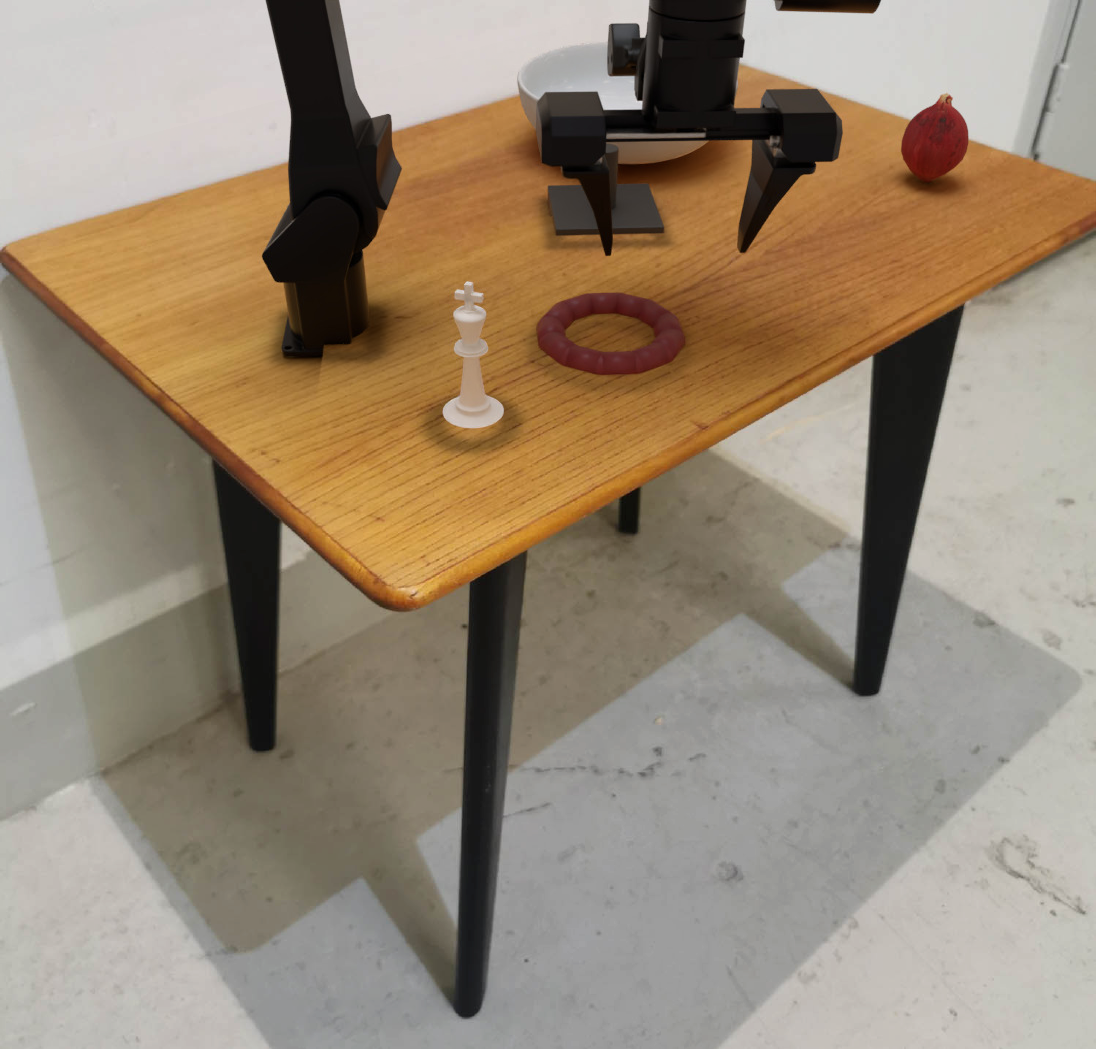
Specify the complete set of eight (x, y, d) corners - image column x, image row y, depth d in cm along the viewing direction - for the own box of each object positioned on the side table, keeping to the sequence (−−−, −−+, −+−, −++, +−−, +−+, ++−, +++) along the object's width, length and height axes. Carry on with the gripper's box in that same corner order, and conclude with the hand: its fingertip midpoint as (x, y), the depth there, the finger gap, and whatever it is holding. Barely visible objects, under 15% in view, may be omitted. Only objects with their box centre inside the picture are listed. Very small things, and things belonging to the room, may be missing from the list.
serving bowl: (473, 142, 111) (471, 70, 106) (623, 95, 122) (627, 28, 117) (623, 209, 99) (628, 132, 95) (774, 151, 110) (784, 79, 106)
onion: (955, 198, 102) (978, 109, 97) (890, 189, 103) (909, 101, 98) (959, 174, 106) (981, 88, 101) (896, 166, 107) (915, 80, 102)
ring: (693, 384, 77) (696, 358, 76) (542, 389, 76) (543, 363, 75) (669, 310, 85) (671, 286, 84) (532, 313, 84) (532, 289, 83)
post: (663, 243, 94) (669, 168, 90) (555, 246, 93) (557, 170, 89) (647, 199, 101) (652, 127, 97) (547, 201, 100) (548, 128, 96)
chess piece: (451, 396, 76) (444, 259, 69) (521, 409, 74) (520, 271, 68) (424, 437, 72) (414, 296, 66) (497, 450, 71) (494, 309, 64)
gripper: (816, -28, 73) (781, 200, 83) (530, -27, 72) (529, 205, 82) (866, 22, 65) (820, 269, 75) (543, 24, 63) (540, 276, 73)
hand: (674, 251), depth 76 cm, fingers open, 9 cm apart
